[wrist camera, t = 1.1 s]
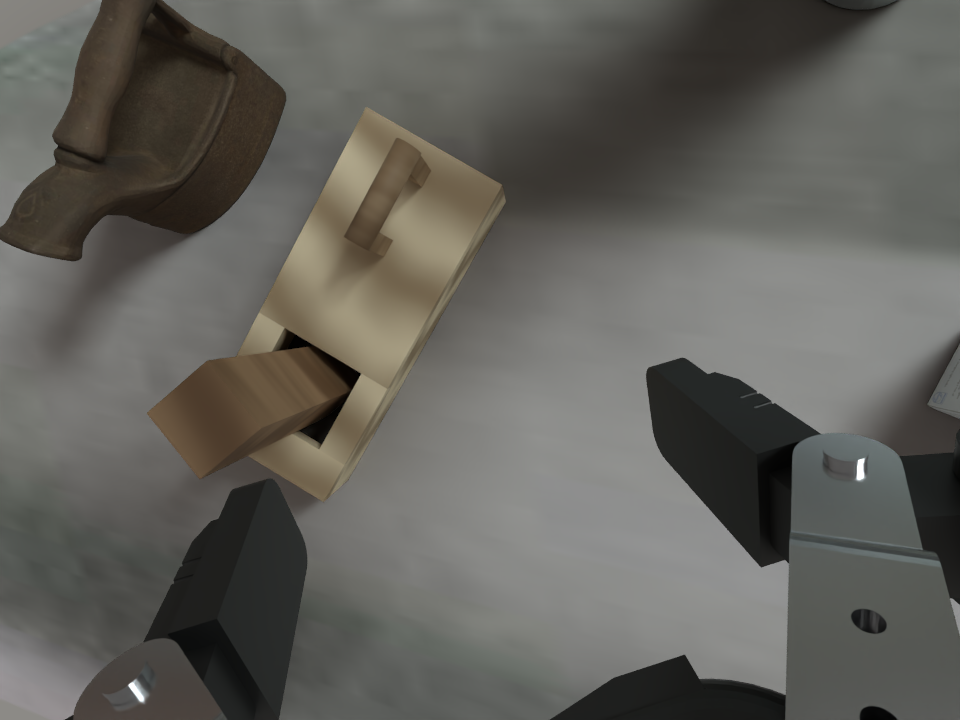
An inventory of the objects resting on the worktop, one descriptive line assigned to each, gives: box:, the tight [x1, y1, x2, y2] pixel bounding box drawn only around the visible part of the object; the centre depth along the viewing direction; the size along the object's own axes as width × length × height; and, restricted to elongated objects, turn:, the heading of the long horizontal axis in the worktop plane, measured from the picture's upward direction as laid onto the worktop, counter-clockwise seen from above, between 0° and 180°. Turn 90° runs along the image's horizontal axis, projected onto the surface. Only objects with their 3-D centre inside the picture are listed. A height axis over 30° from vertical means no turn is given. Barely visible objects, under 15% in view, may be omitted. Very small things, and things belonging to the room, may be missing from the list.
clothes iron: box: [0, 0, 286, 261], centre depth 34 cm, size 8×16×13 cm, turn 156°
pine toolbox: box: [236, 107, 506, 502], centre depth 36 cm, size 24×10×10 cm, turn 150°
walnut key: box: [147, 346, 359, 479], centre depth 33 cm, size 4×4×16 cm
